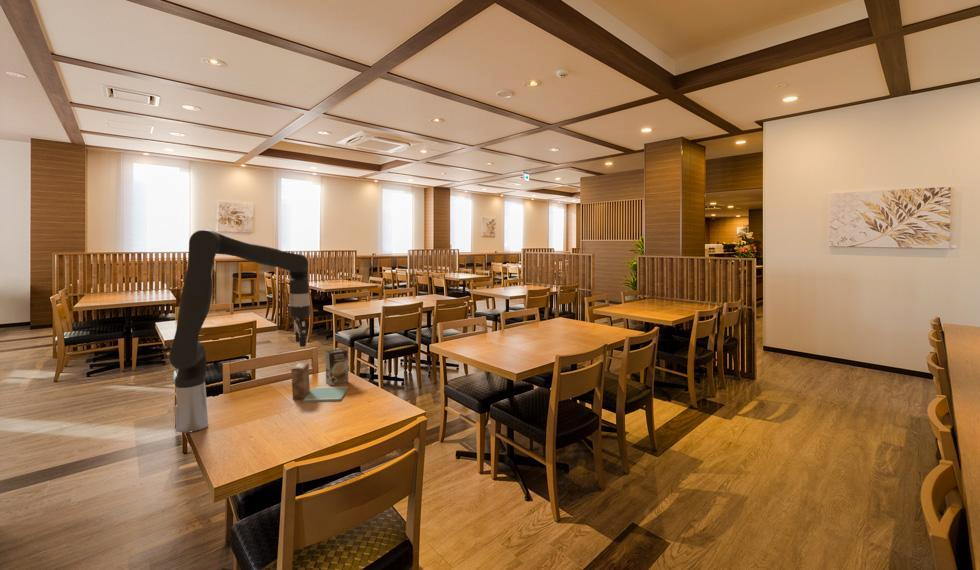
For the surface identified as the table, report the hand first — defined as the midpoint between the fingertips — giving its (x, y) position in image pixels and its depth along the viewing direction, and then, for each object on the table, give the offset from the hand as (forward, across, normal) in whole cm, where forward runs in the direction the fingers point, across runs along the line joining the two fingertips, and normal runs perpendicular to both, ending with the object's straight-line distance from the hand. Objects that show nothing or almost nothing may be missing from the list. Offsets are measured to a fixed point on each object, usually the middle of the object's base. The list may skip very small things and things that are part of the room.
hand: (300, 344), depth 175 cm
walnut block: (+29, -21, +3) cm, 36 cm away
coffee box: (+29, -31, +22) cm, 47 cm away
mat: (+29, -16, +13) cm, 35 cm away
